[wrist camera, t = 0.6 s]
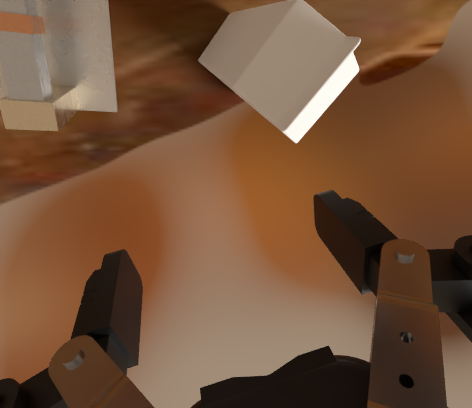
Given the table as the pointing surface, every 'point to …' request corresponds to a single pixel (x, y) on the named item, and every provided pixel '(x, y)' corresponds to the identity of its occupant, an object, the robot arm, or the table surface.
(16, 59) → the rod and plate slider
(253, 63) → the milk
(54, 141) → the table surface
